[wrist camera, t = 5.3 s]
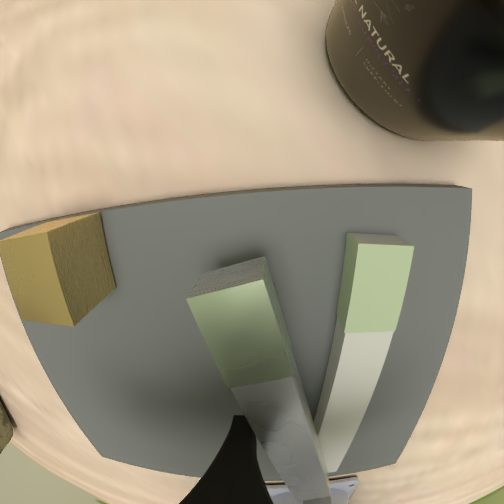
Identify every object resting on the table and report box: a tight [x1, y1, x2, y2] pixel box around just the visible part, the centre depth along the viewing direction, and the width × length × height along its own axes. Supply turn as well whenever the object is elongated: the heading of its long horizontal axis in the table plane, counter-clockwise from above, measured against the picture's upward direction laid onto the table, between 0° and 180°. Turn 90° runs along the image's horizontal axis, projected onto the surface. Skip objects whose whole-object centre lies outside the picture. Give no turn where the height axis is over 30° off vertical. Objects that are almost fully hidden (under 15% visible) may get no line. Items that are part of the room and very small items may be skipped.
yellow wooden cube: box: [0, 212, 116, 326], centre depth 8 cm, size 3×3×3 cm
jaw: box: [186, 256, 331, 501], centre depth 9 cm, size 13×2×2 cm, turn 17°
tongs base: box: [0, 184, 472, 504], centre depth 11 cm, size 18×22×5 cm
